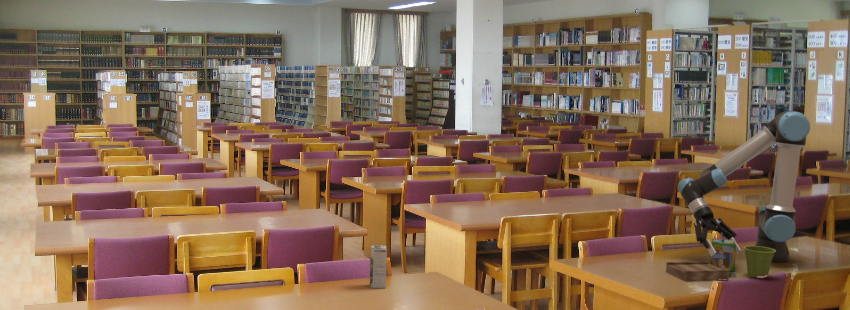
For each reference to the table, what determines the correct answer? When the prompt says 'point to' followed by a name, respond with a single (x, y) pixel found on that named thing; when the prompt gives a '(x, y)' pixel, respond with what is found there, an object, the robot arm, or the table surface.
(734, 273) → the grey stepped bar
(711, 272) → the tray
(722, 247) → the chalk box
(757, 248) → the plant pot
